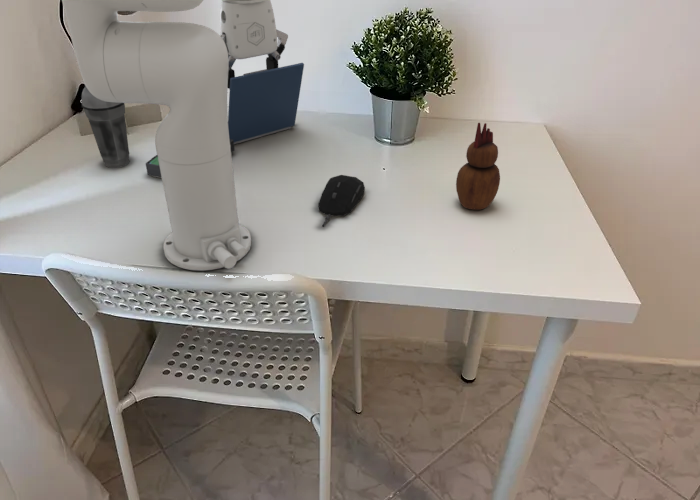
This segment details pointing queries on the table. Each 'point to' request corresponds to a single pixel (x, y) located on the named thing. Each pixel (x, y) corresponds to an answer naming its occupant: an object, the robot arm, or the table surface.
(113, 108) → the beverage cup
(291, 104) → the sign
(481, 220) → the table surface
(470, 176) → the wooden figurine
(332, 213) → the gaming mouse
